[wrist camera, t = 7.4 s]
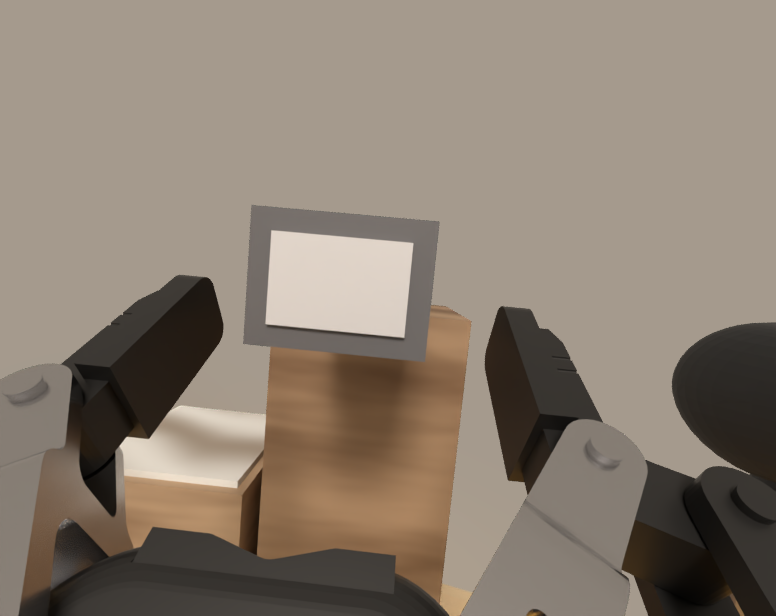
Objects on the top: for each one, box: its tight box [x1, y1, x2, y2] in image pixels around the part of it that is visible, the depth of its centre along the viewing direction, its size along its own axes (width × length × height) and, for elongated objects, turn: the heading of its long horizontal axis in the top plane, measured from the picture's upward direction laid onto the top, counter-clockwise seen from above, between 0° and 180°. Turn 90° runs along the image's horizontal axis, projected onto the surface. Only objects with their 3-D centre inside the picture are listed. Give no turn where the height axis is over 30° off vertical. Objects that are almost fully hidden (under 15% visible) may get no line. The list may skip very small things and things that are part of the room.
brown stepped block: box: [120, 305, 471, 603], centre depth 24 cm, size 10×21×32 cm, turn 87°
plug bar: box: [243, 205, 439, 362], centre depth 18 cm, size 22×6×4 cm, turn 177°
